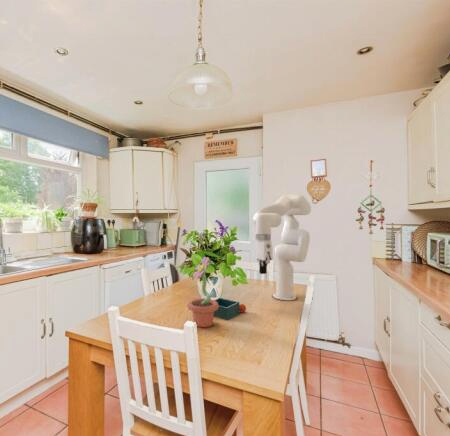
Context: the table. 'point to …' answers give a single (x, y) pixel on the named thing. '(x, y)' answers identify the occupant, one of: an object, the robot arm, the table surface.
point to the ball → (242, 308)
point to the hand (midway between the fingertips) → (263, 273)
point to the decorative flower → (203, 307)
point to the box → (226, 308)
